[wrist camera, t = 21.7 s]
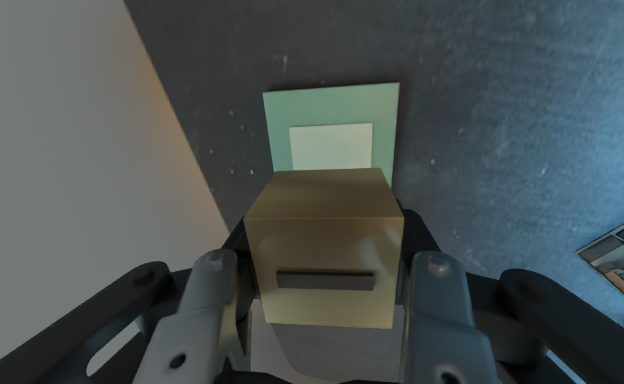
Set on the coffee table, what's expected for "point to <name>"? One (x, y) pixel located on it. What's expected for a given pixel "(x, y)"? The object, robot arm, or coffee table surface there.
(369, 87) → the word board
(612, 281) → the building
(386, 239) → the tan cube
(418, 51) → the coffee table surface
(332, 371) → the coffee table surface
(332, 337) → the coffee table surface
